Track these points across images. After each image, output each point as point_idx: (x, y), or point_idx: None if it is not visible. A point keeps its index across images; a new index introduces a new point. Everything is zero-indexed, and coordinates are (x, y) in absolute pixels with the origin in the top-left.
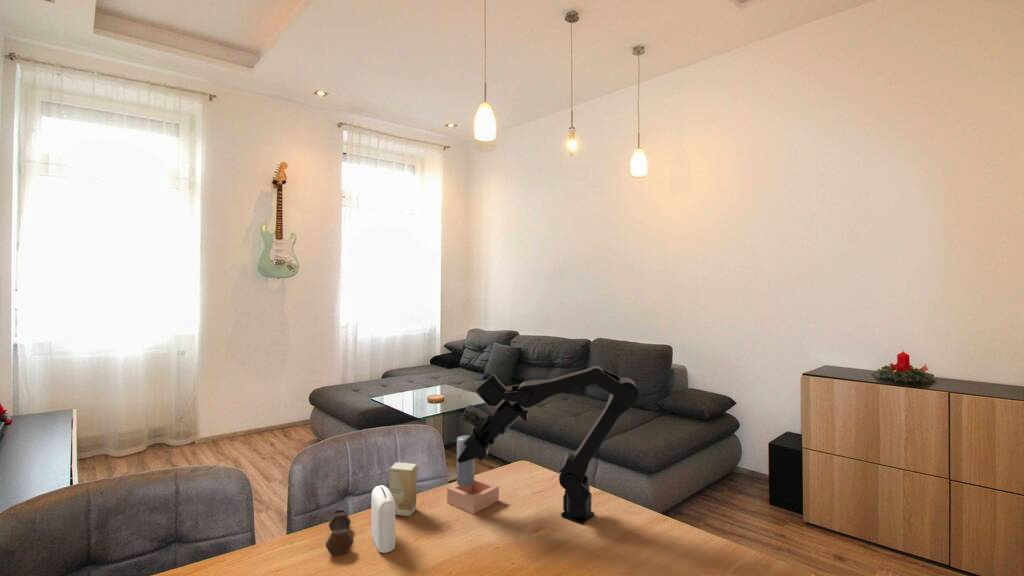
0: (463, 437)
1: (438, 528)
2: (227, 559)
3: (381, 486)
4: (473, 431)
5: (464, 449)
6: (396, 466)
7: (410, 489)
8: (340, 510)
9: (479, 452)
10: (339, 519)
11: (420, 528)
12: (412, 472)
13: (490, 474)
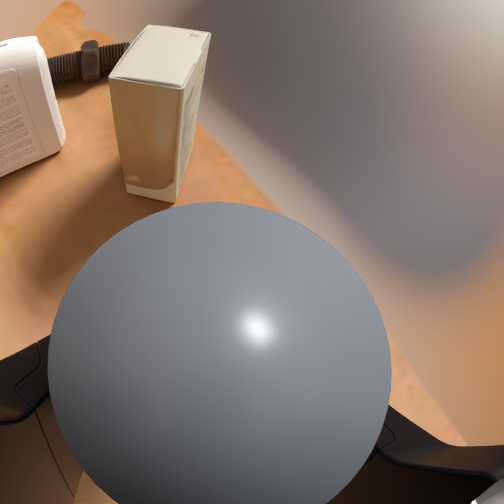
0: (281, 323)
1: (44, 285)
2: (67, 9)
3: (8, 44)
4: (457, 479)
5: (35, 359)
6: (159, 35)
7: (116, 135)
8: (122, 45)
9: None
10: (76, 53)
11: (53, 230)
12: (117, 89)
13: (432, 416)
